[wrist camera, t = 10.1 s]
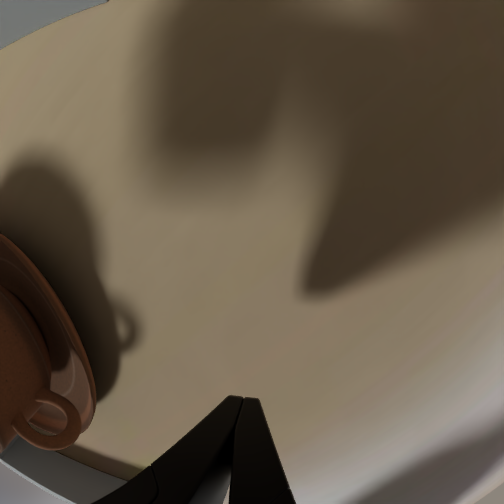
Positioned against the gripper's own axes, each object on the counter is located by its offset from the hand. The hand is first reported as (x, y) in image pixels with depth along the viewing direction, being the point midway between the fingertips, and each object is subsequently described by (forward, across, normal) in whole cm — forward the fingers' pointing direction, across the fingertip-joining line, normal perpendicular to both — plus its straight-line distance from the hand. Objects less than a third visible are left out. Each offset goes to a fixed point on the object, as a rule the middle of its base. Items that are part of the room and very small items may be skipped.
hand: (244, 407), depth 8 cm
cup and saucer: (+4, +12, +2) cm, 13 cm away
